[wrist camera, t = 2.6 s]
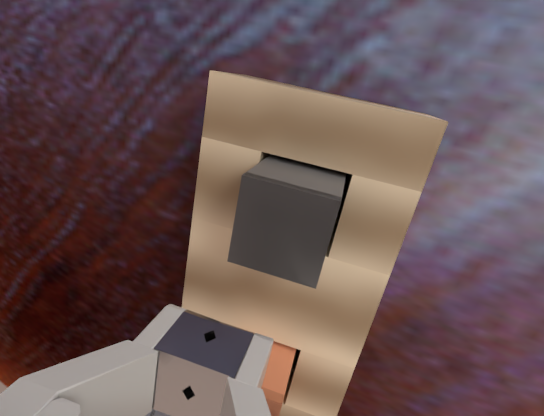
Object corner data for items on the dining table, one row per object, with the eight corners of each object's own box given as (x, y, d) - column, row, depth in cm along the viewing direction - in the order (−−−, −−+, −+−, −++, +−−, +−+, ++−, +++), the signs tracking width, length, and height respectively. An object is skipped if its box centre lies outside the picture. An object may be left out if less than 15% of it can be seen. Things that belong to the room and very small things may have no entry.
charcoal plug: (272, 153, 20) (241, 174, 15) (346, 172, 19) (341, 201, 14) (258, 221, 21) (227, 261, 16) (326, 240, 21) (315, 288, 16)
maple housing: (245, 75, 23) (209, 70, 18) (425, 113, 21) (448, 121, 16) (203, 344, 32) (170, 397, 26) (328, 388, 30) (321, 455, 25)
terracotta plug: (239, 316, 24) (207, 376, 19) (299, 337, 24) (282, 404, 18) (230, 363, 26) (198, 429, 21) (286, 383, 25) (267, 456, 20)
